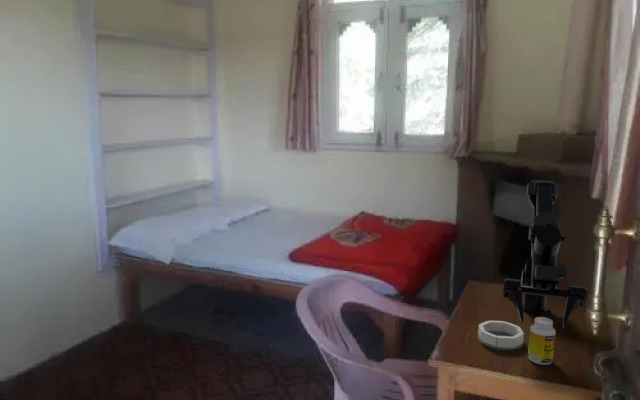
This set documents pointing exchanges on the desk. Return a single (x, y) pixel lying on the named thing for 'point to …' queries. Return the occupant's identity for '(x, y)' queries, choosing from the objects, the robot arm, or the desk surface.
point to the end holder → (500, 335)
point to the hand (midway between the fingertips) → (543, 324)
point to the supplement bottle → (541, 341)
